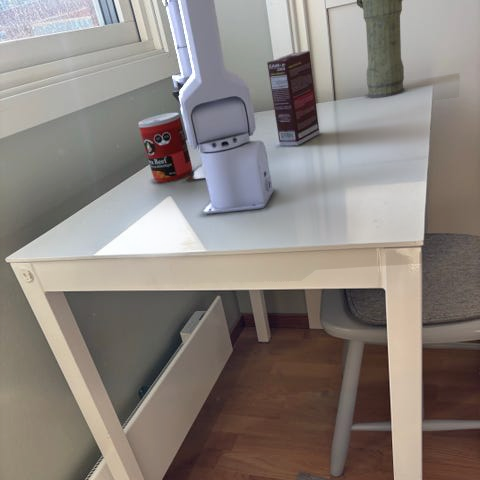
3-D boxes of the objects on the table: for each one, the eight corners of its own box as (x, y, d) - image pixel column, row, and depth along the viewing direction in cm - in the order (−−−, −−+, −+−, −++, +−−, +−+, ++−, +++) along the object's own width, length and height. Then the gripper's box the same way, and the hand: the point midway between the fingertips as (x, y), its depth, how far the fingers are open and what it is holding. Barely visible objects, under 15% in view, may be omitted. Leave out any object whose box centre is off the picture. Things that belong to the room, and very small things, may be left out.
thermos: (364, 93, 136) (355, -68, 118) (411, 86, 131) (408, -82, 113) (359, 100, 129) (348, -69, 111) (408, 93, 124) (404, -84, 106)
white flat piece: (249, 159, 100) (249, 157, 99) (237, 175, 91) (236, 173, 91) (202, 165, 103) (202, 164, 102) (186, 181, 94) (186, 180, 94)
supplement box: (301, 134, 109) (291, 53, 101) (320, 134, 106) (311, 50, 98) (278, 146, 104) (265, 61, 96) (297, 146, 101) (286, 58, 93)
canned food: (146, 181, 100) (129, 124, 95) (176, 168, 105) (162, 112, 99) (170, 184, 95) (154, 123, 90) (201, 170, 100) (187, 111, 94)
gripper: (151, 53, 89) (171, 132, 96) (196, 45, 79) (215, 135, 86) (183, 45, 93) (200, 122, 100) (231, 37, 82) (246, 123, 89)
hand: (209, 127), depth 93 cm, fingers open, 7 cm apart
